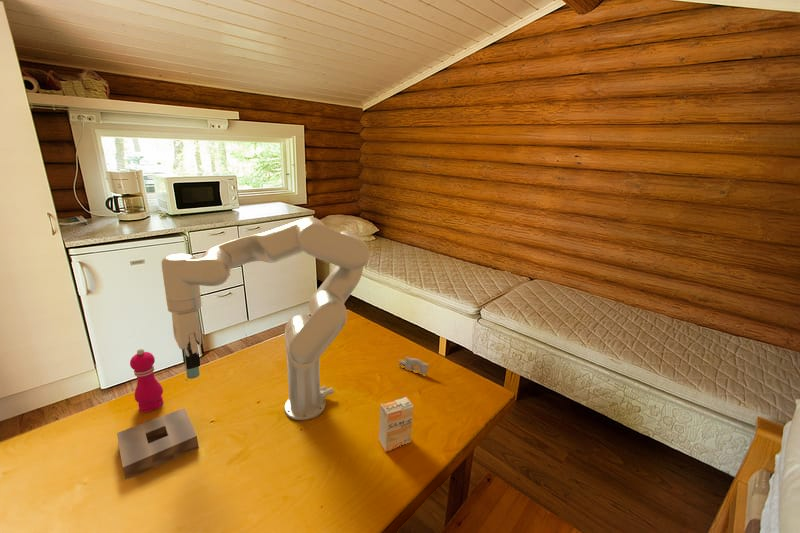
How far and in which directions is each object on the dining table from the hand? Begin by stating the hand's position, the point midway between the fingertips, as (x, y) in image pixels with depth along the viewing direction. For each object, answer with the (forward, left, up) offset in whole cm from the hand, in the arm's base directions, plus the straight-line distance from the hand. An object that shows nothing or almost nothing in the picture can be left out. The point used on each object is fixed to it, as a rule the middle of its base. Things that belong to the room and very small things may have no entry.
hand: (191, 363), depth 97 cm
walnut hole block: (+11, 0, -22) cm, 24 cm away
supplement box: (-40, +39, -22) cm, 60 cm away
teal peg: (0, 0, -4) cm, 4 cm away
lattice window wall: (-69, +17, -22) cm, 74 cm away
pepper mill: (+10, -20, -22) cm, 31 cm away
